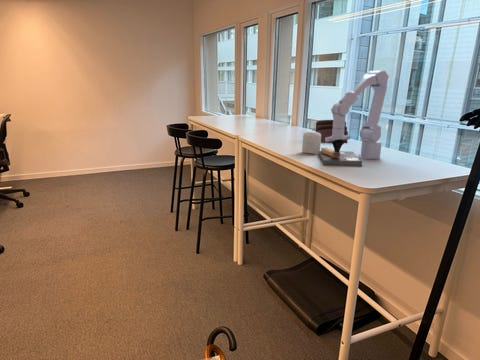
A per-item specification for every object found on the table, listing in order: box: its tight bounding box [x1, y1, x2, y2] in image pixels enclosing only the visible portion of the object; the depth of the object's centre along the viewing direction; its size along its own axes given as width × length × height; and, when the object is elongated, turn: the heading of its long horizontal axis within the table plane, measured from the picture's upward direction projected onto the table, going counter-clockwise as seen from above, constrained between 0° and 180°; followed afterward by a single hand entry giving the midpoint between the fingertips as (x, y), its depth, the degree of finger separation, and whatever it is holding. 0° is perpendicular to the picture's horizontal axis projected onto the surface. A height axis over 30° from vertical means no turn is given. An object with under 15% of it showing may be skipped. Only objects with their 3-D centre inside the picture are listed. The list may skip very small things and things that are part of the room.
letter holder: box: [315, 119, 349, 144], centre depth 224 cm, size 10×20×14 cm, turn 84°
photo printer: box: [301, 130, 321, 155], centre depth 188 cm, size 10×4×12 cm, turn 56°
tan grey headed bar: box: [320, 147, 340, 158], centre depth 174 cm, size 15×4×2 cm, turn 13°
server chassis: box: [317, 150, 363, 167], centre depth 173 cm, size 18×22×3 cm
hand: (336, 154), depth 171 cm, fingers closed, pressing on tan grey headed bar
